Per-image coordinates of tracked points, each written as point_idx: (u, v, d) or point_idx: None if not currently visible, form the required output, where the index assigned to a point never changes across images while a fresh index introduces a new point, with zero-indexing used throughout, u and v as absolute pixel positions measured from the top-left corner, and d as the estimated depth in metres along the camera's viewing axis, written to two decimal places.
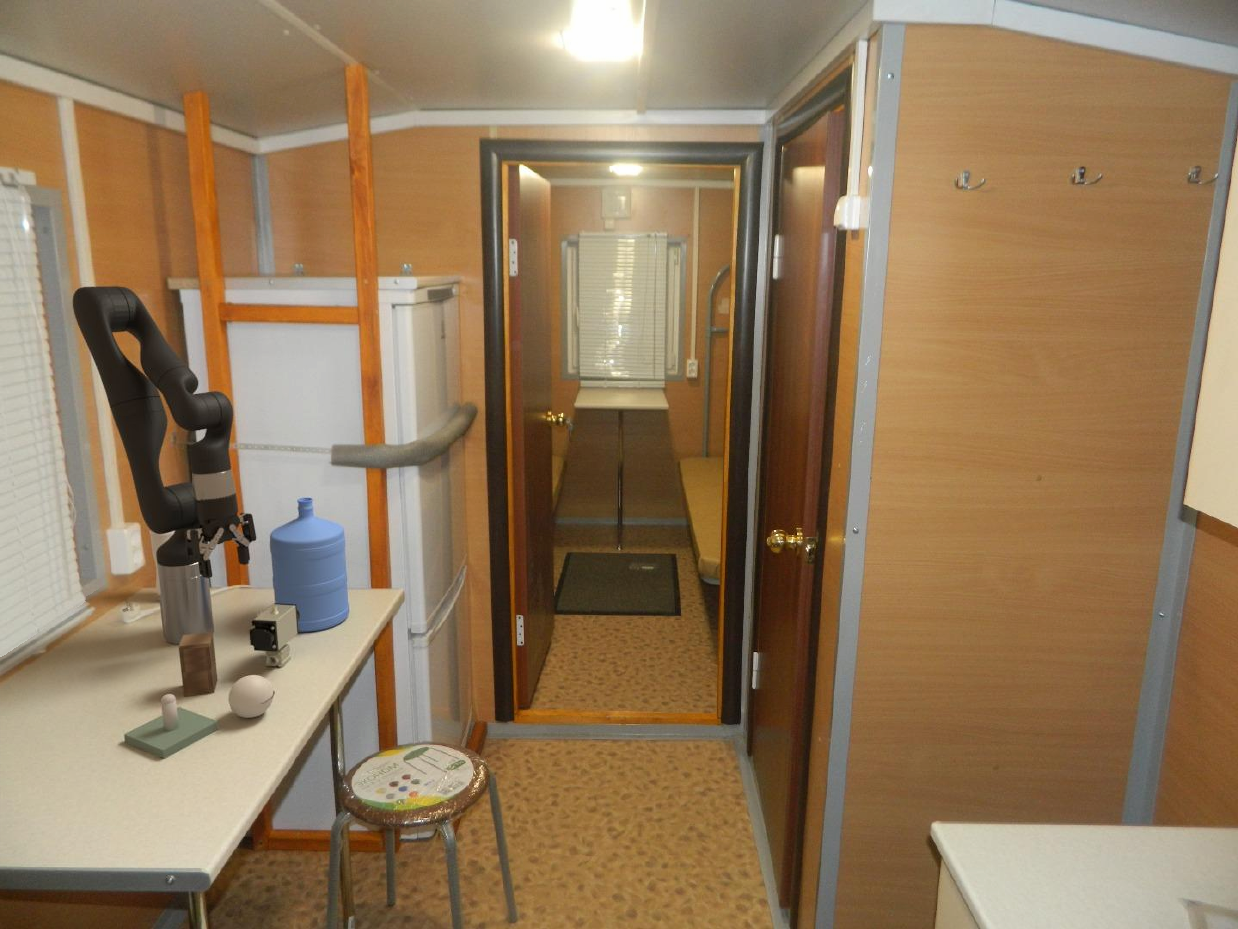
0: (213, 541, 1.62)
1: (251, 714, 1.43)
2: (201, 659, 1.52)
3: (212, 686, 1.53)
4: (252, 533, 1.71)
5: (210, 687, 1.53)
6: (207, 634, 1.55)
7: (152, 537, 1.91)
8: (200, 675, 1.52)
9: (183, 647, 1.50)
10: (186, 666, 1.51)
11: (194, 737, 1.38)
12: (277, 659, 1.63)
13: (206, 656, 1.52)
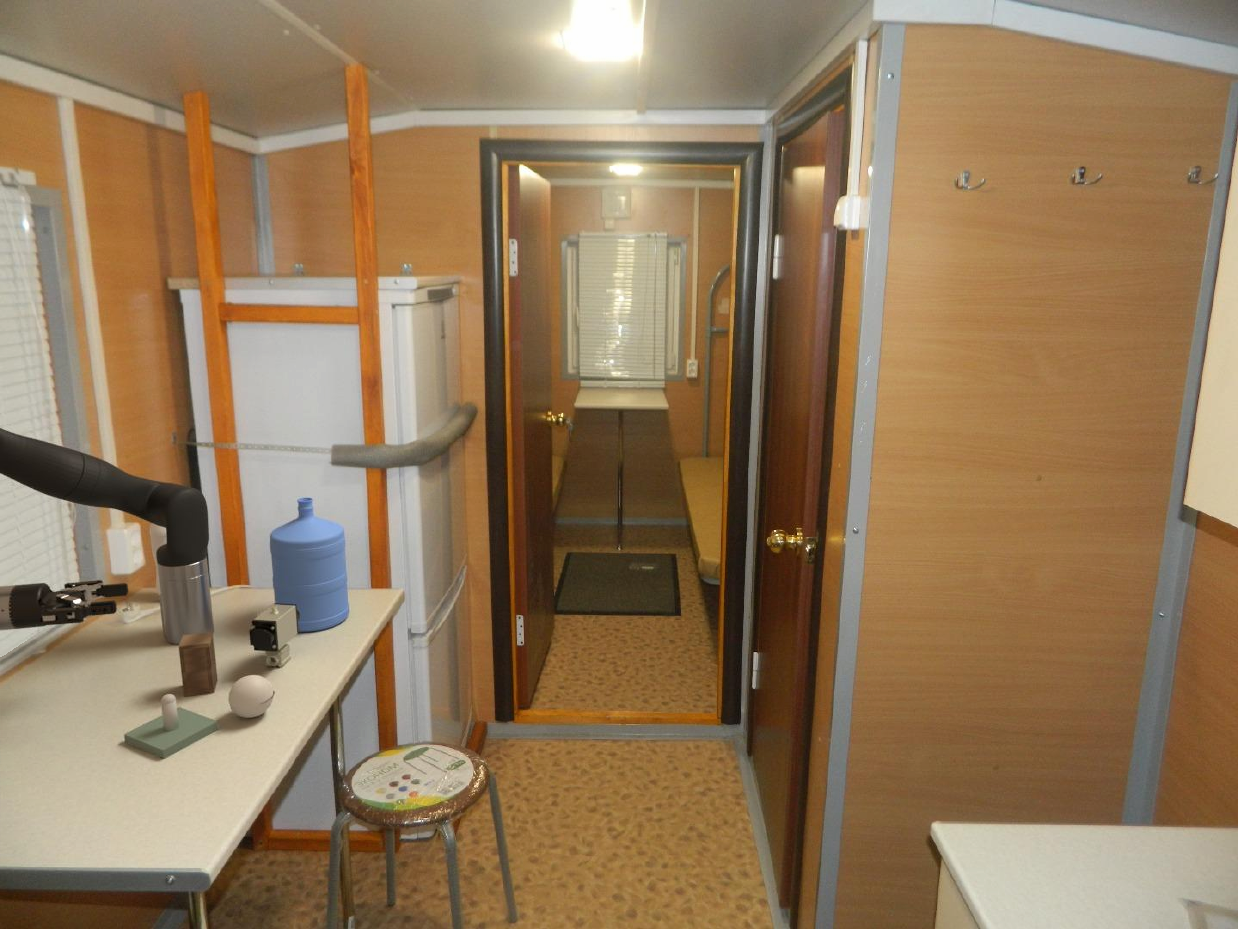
0: None
1: (251, 714, 1.43)
2: (201, 659, 1.52)
3: (212, 686, 1.53)
4: None
5: (210, 687, 1.53)
6: (207, 634, 1.55)
7: (152, 537, 1.91)
8: (200, 675, 1.52)
9: (183, 647, 1.50)
10: (186, 666, 1.51)
11: (194, 737, 1.38)
12: (277, 659, 1.63)
13: (206, 656, 1.52)
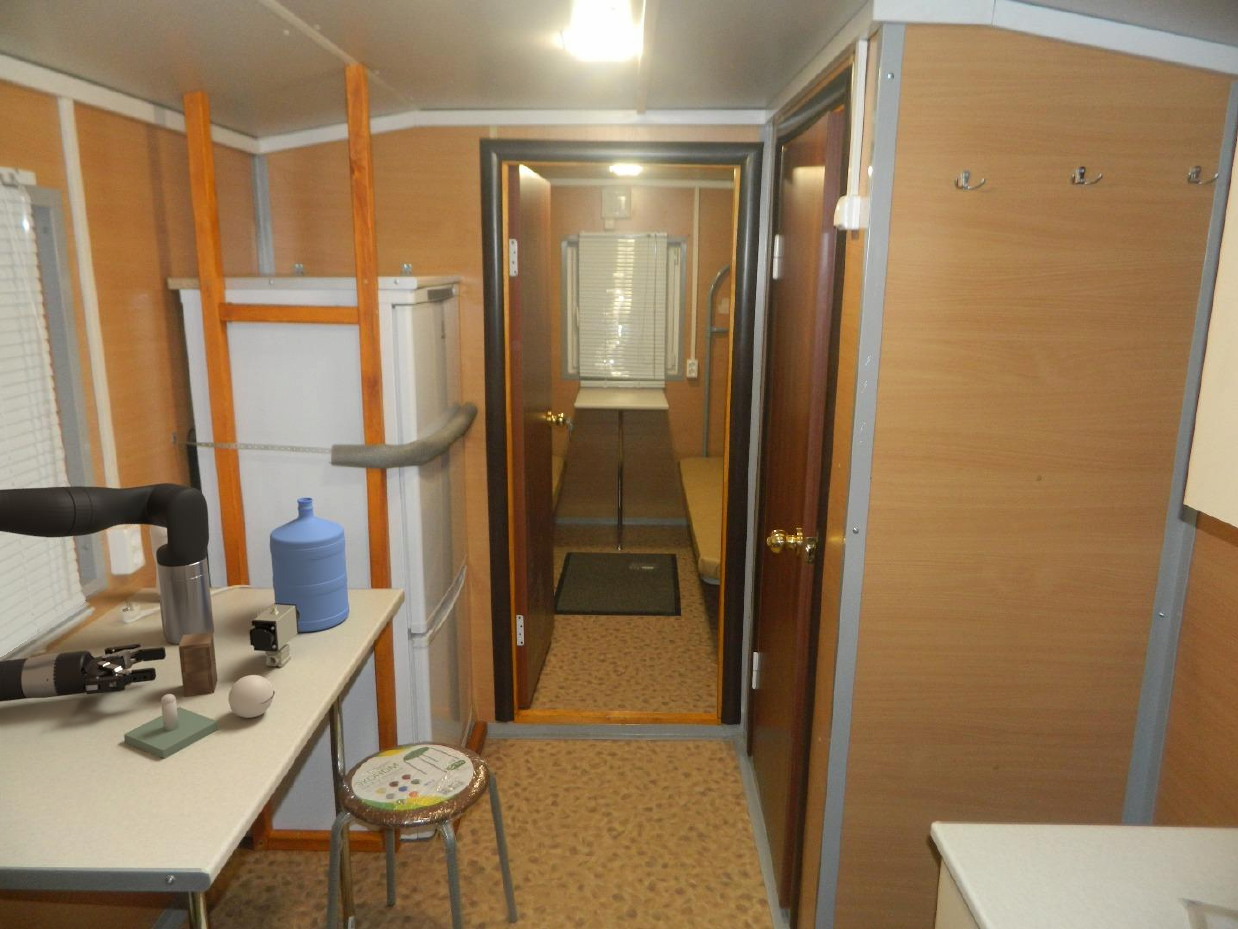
0: None
1: (251, 714, 1.43)
2: (201, 659, 1.52)
3: (212, 686, 1.53)
4: None
5: (210, 687, 1.53)
6: (207, 634, 1.55)
7: (152, 537, 1.91)
8: (200, 675, 1.52)
9: (183, 647, 1.50)
10: (186, 666, 1.51)
11: (194, 737, 1.38)
12: (277, 659, 1.63)
13: (206, 656, 1.52)
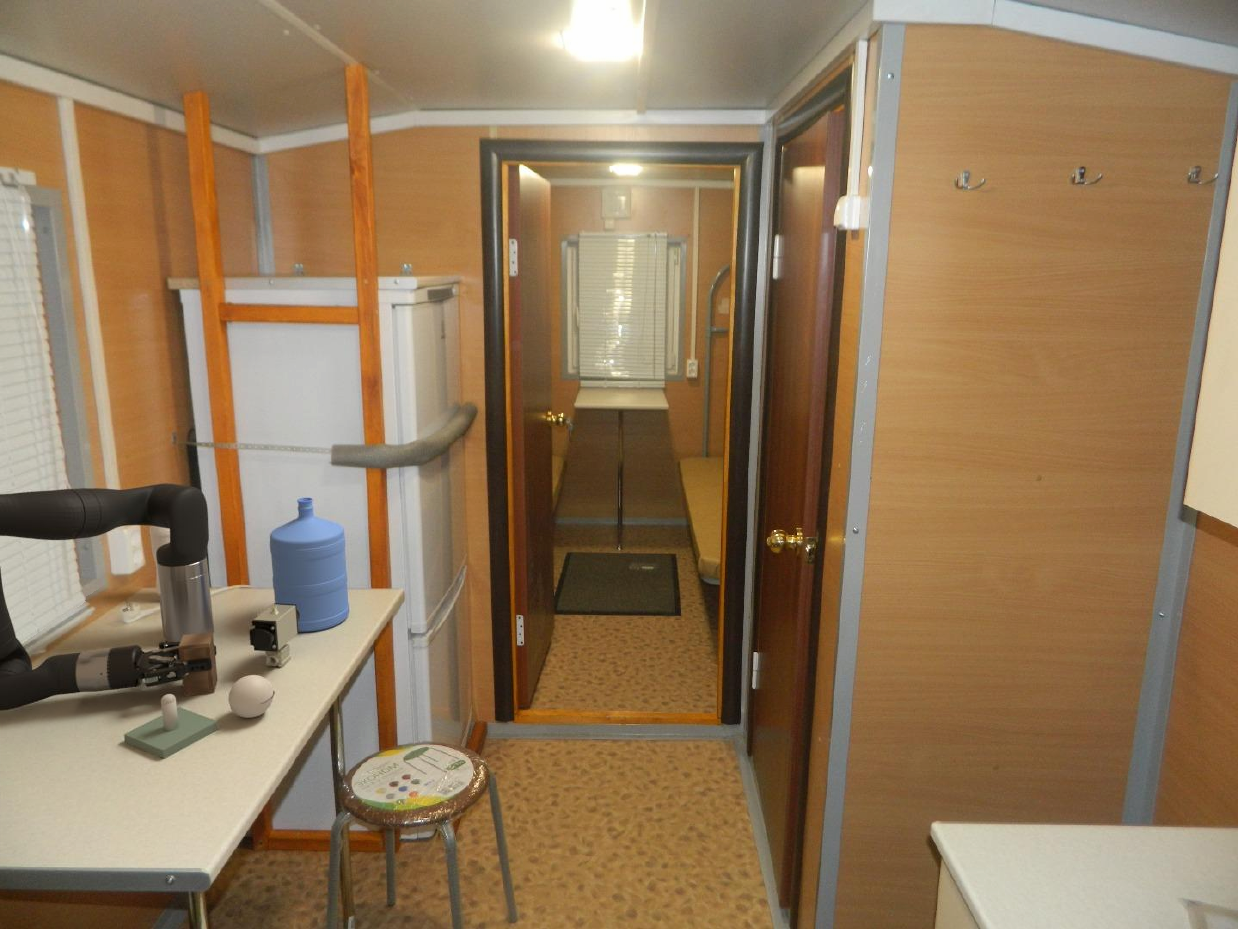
0: None
1: (251, 714, 1.43)
2: None
3: (212, 686, 1.53)
4: None
5: (210, 687, 1.53)
6: (207, 634, 1.55)
7: (152, 537, 1.91)
8: (200, 675, 1.52)
9: (183, 647, 1.50)
10: None
11: (194, 737, 1.38)
12: (277, 659, 1.63)
13: (206, 656, 1.52)
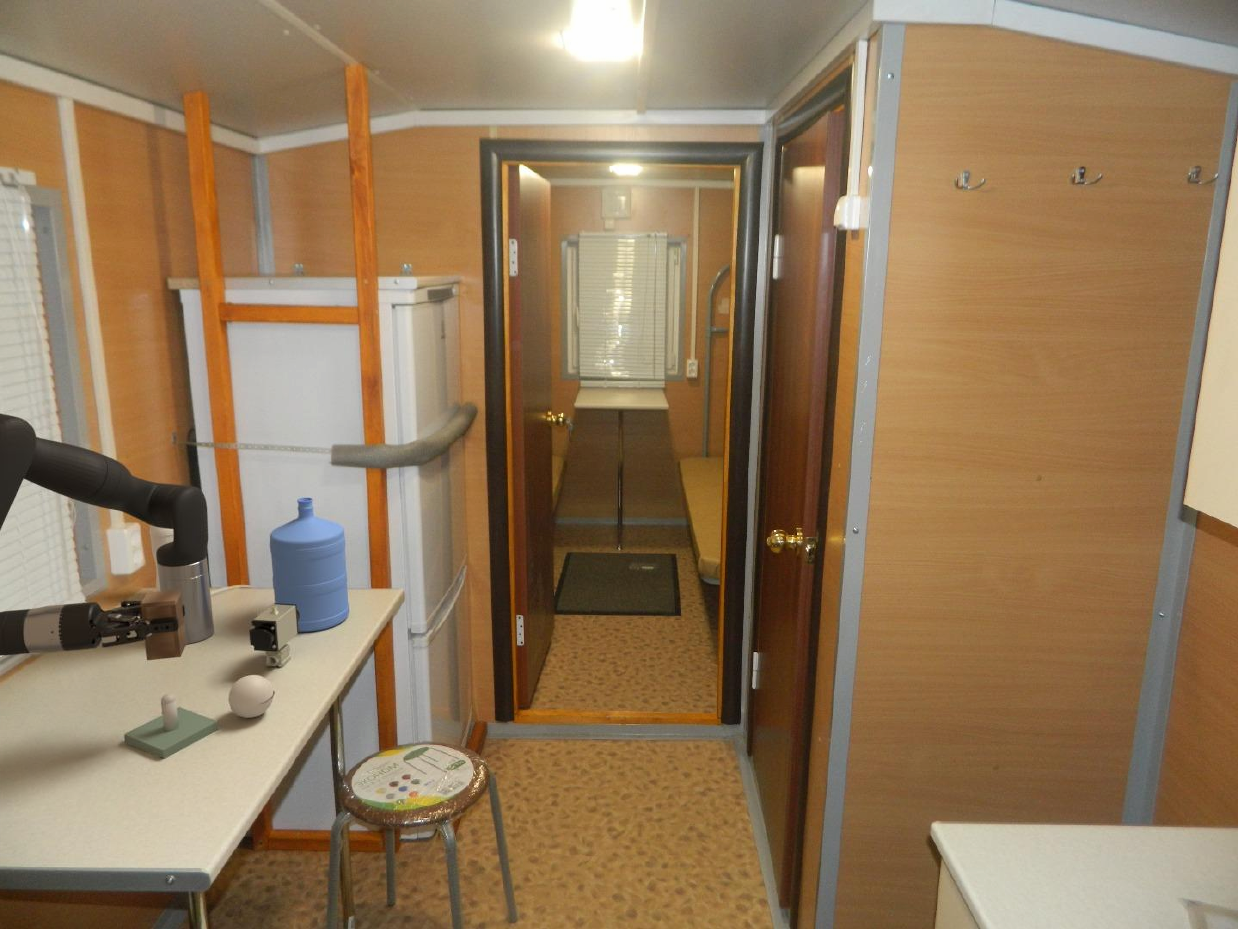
0: None
1: (251, 714, 1.43)
2: None
3: (179, 649, 1.37)
4: None
5: (176, 650, 1.37)
6: (174, 592, 1.39)
7: (152, 537, 1.91)
8: (165, 637, 1.36)
9: (146, 604, 1.34)
10: None
11: (194, 737, 1.38)
12: (277, 659, 1.63)
13: (172, 615, 1.35)
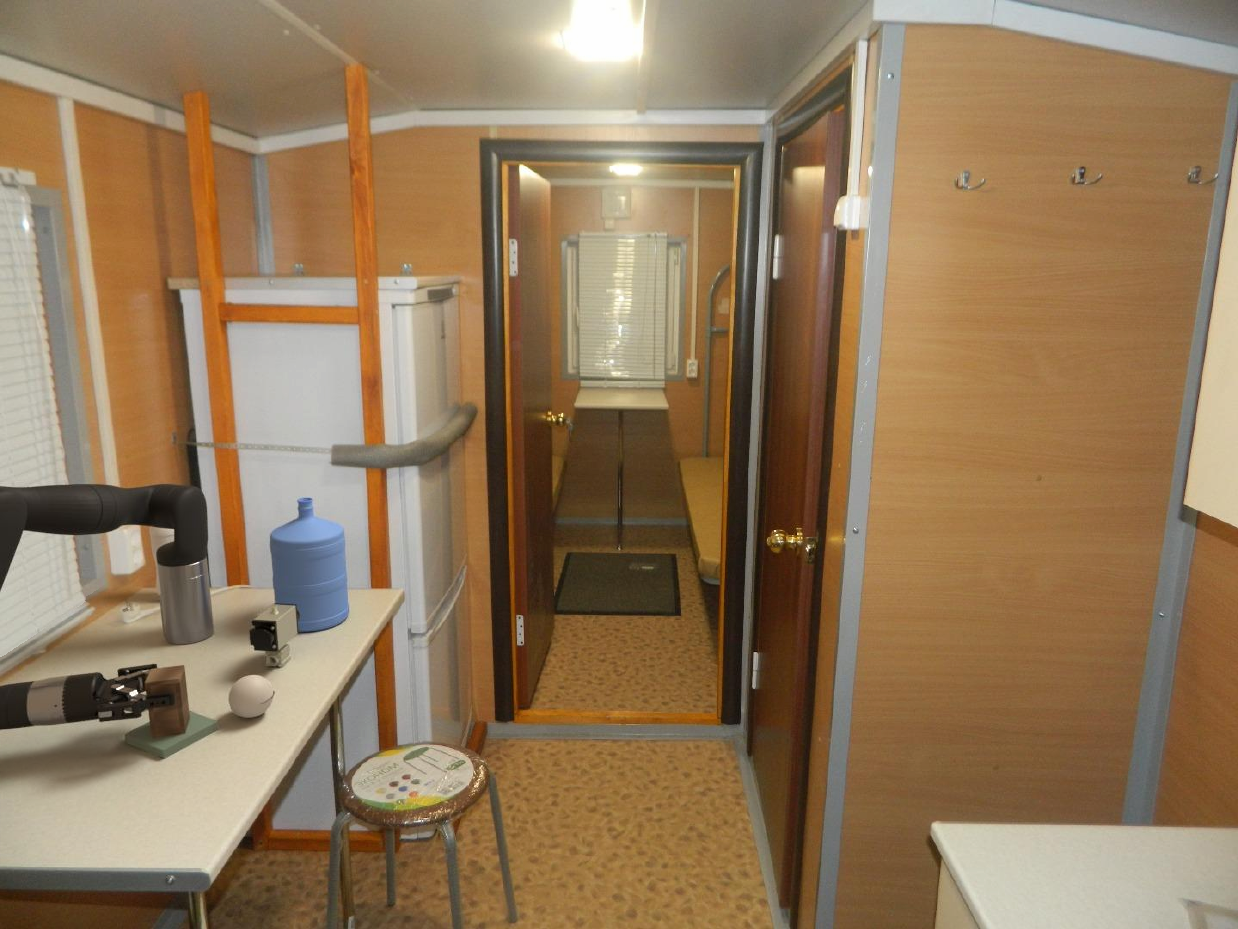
0: None
1: (251, 714, 1.43)
2: None
3: (183, 726, 1.37)
4: None
5: (181, 727, 1.37)
6: (178, 668, 1.39)
7: (152, 537, 1.91)
8: (170, 714, 1.36)
9: (150, 683, 1.34)
10: None
11: (194, 737, 1.38)
12: (277, 659, 1.63)
13: (176, 693, 1.36)
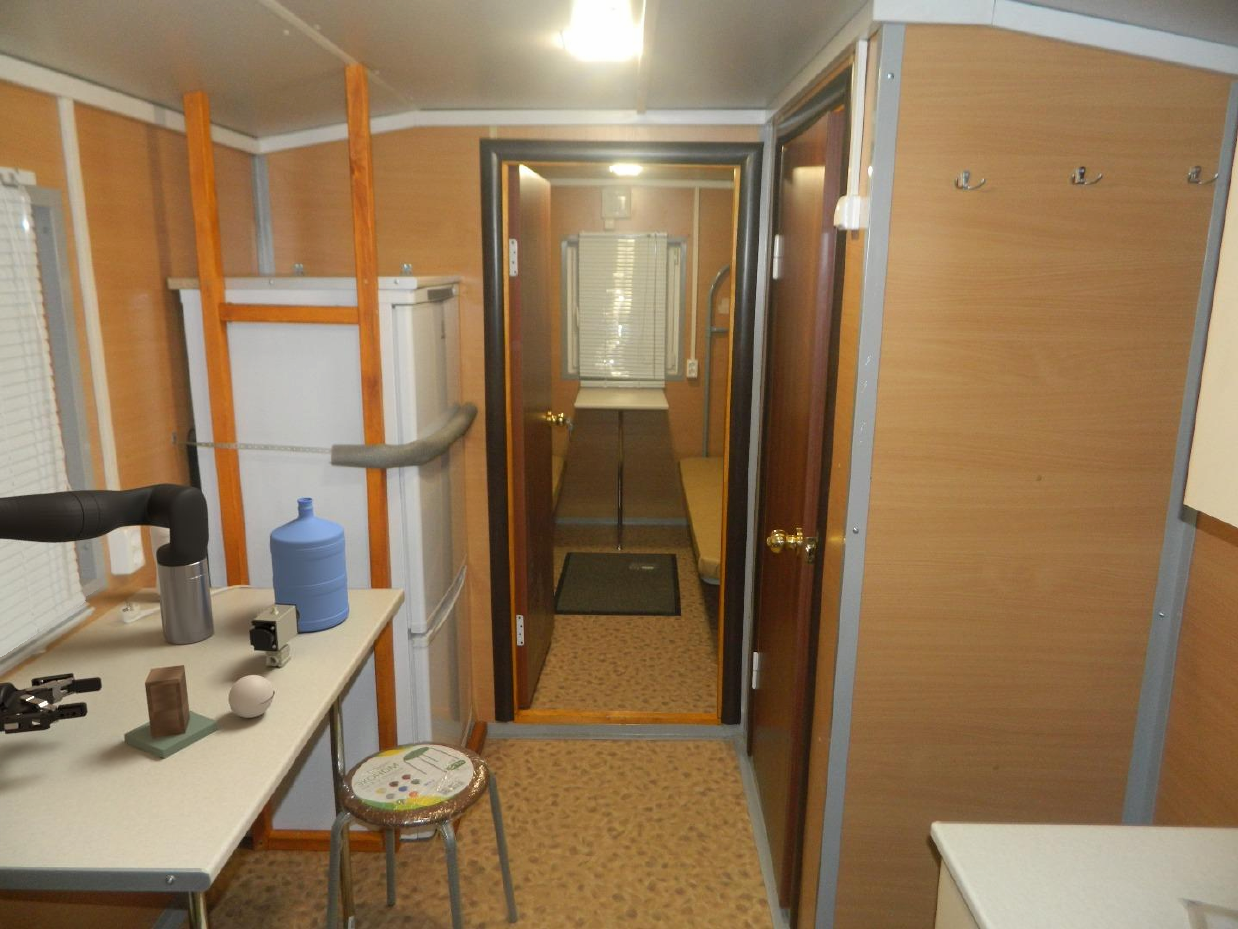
0: None
1: (251, 714, 1.43)
2: (171, 696, 1.35)
3: (183, 726, 1.37)
4: None
5: (181, 727, 1.37)
6: (178, 668, 1.39)
7: (152, 537, 1.91)
8: (170, 714, 1.36)
9: (150, 683, 1.34)
10: (154, 704, 1.35)
11: (194, 737, 1.38)
12: (277, 659, 1.63)
13: (176, 693, 1.36)
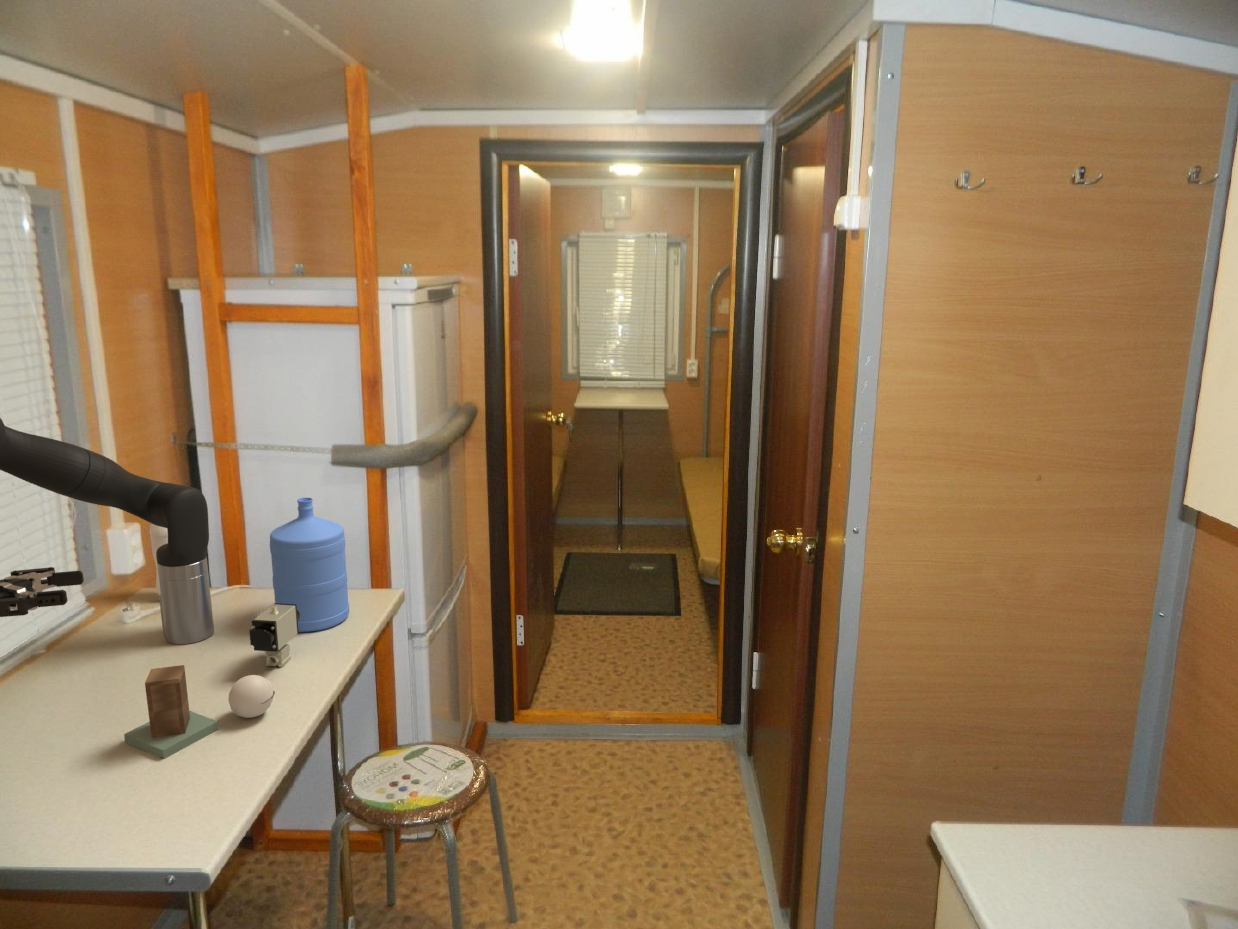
0: None
1: (251, 714, 1.43)
2: (171, 696, 1.35)
3: (183, 726, 1.37)
4: None
5: (181, 727, 1.37)
6: (178, 668, 1.39)
7: (152, 537, 1.91)
8: (170, 714, 1.36)
9: (150, 683, 1.34)
10: (154, 704, 1.35)
11: (194, 737, 1.38)
12: (277, 659, 1.63)
13: (176, 693, 1.36)
